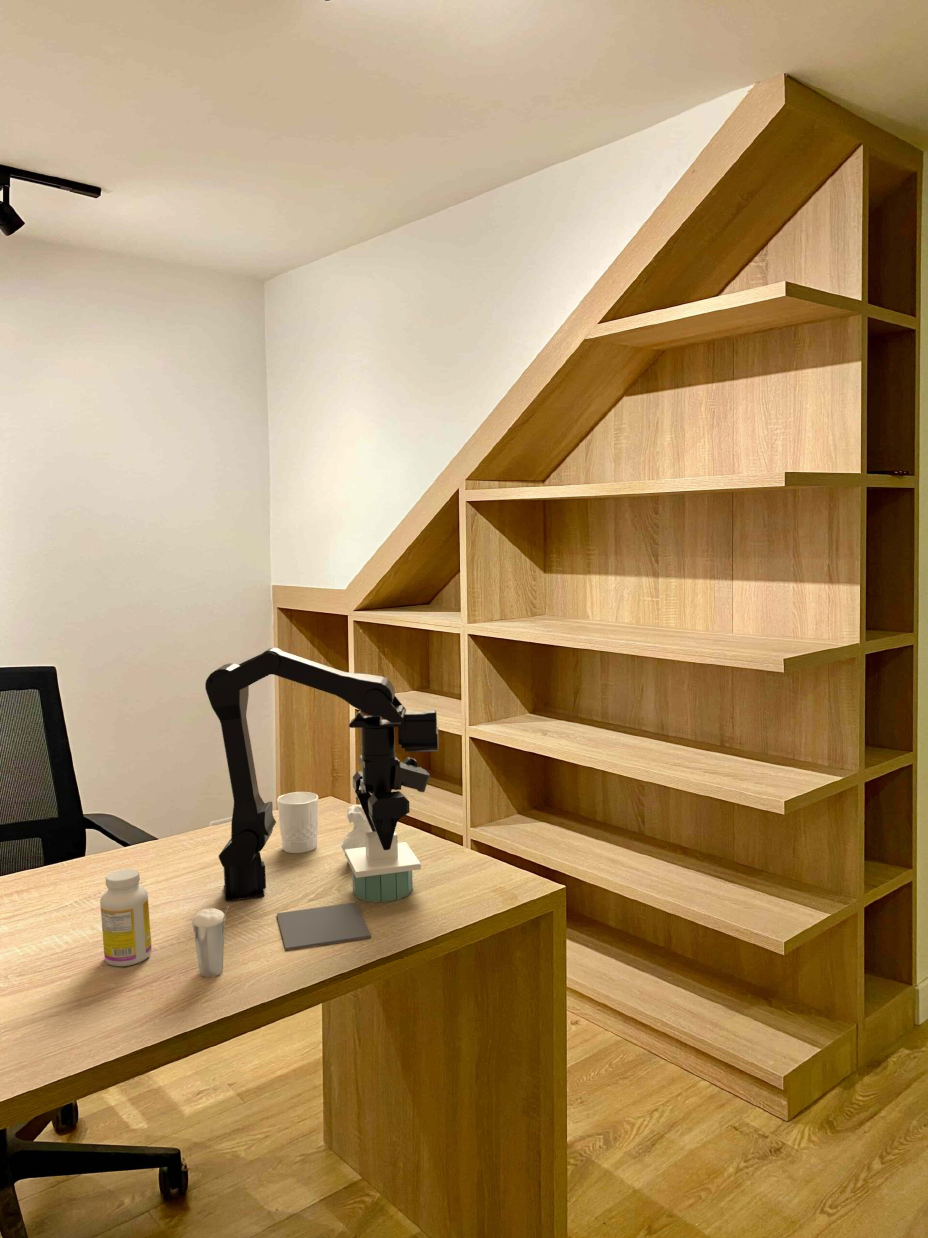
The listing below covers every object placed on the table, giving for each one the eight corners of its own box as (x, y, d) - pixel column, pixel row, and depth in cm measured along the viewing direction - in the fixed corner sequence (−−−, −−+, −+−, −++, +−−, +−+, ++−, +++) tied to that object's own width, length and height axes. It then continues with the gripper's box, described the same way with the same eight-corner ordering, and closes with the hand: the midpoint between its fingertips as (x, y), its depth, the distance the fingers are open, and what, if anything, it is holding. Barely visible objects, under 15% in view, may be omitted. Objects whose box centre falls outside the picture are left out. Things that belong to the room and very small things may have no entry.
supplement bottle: (136, 943, 145) (130, 862, 143) (160, 955, 141) (155, 872, 139) (95, 960, 140) (89, 876, 138) (119, 973, 136) (114, 887, 134)
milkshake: (224, 982, 132) (220, 913, 131) (189, 979, 133) (185, 911, 132) (238, 966, 137) (235, 900, 136) (204, 963, 138) (200, 897, 137)
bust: (387, 860, 184) (360, 808, 187) (409, 843, 179) (381, 791, 183) (342, 879, 174) (314, 825, 178) (365, 862, 170) (336, 807, 173)
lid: (356, 878, 156) (355, 848, 155) (344, 855, 166) (343, 827, 166) (420, 869, 159) (420, 840, 159) (405, 847, 170) (405, 820, 169)
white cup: (328, 844, 186) (326, 795, 185) (301, 857, 180) (299, 806, 178) (298, 838, 190) (296, 789, 189) (270, 850, 184) (268, 800, 183)
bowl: (359, 905, 157) (358, 876, 157) (349, 883, 167) (348, 855, 166) (417, 897, 160) (417, 868, 160) (404, 875, 170) (403, 848, 169)
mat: (285, 950, 141) (285, 948, 141) (276, 915, 154) (276, 913, 154) (371, 937, 145) (371, 935, 145) (356, 904, 158) (355, 902, 158)
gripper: (438, 761, 154) (440, 853, 156) (411, 735, 172) (413, 819, 174) (371, 767, 151) (374, 862, 153) (350, 741, 169) (353, 825, 170)
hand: (381, 840), depth 162 cm, fingers open, 9 cm apart
